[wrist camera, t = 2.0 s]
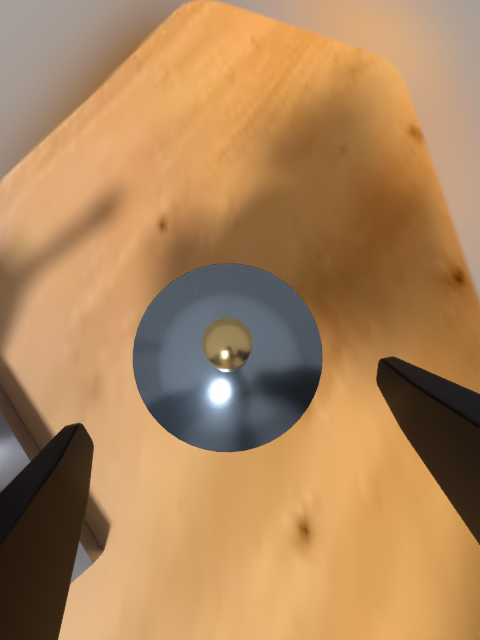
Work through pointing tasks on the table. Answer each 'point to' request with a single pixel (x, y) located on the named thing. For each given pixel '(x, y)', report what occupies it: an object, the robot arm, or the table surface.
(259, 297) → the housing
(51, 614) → the robot arm
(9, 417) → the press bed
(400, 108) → the table surface
